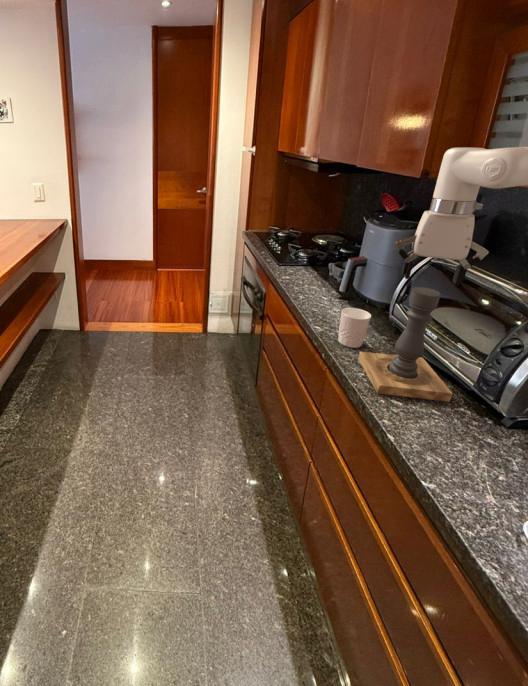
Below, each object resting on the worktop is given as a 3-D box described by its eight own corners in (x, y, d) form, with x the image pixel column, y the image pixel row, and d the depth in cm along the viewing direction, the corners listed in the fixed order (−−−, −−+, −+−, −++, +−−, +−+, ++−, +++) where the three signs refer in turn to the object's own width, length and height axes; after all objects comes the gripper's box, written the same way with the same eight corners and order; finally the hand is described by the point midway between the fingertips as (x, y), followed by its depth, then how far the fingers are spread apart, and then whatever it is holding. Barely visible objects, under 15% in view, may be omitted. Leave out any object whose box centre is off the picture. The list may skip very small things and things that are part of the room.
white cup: (340, 347, 116) (346, 318, 112) (332, 335, 123) (338, 306, 120) (368, 350, 115) (375, 320, 111) (359, 337, 122) (365, 308, 118)
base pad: (420, 365, 108) (422, 357, 107) (449, 401, 93) (452, 393, 92) (358, 358, 111) (359, 351, 110) (377, 393, 96) (379, 385, 95)
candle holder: (390, 369, 106) (414, 284, 96) (416, 378, 102) (444, 291, 92) (383, 378, 102) (407, 291, 92) (410, 389, 98) (438, 299, 88)
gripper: (496, 207, 84) (472, 280, 90) (403, 202, 91) (386, 270, 98) (507, 213, 78) (481, 291, 84) (406, 207, 85) (389, 279, 91)
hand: (430, 280), depth 91 cm, fingers open, 9 cm apart
